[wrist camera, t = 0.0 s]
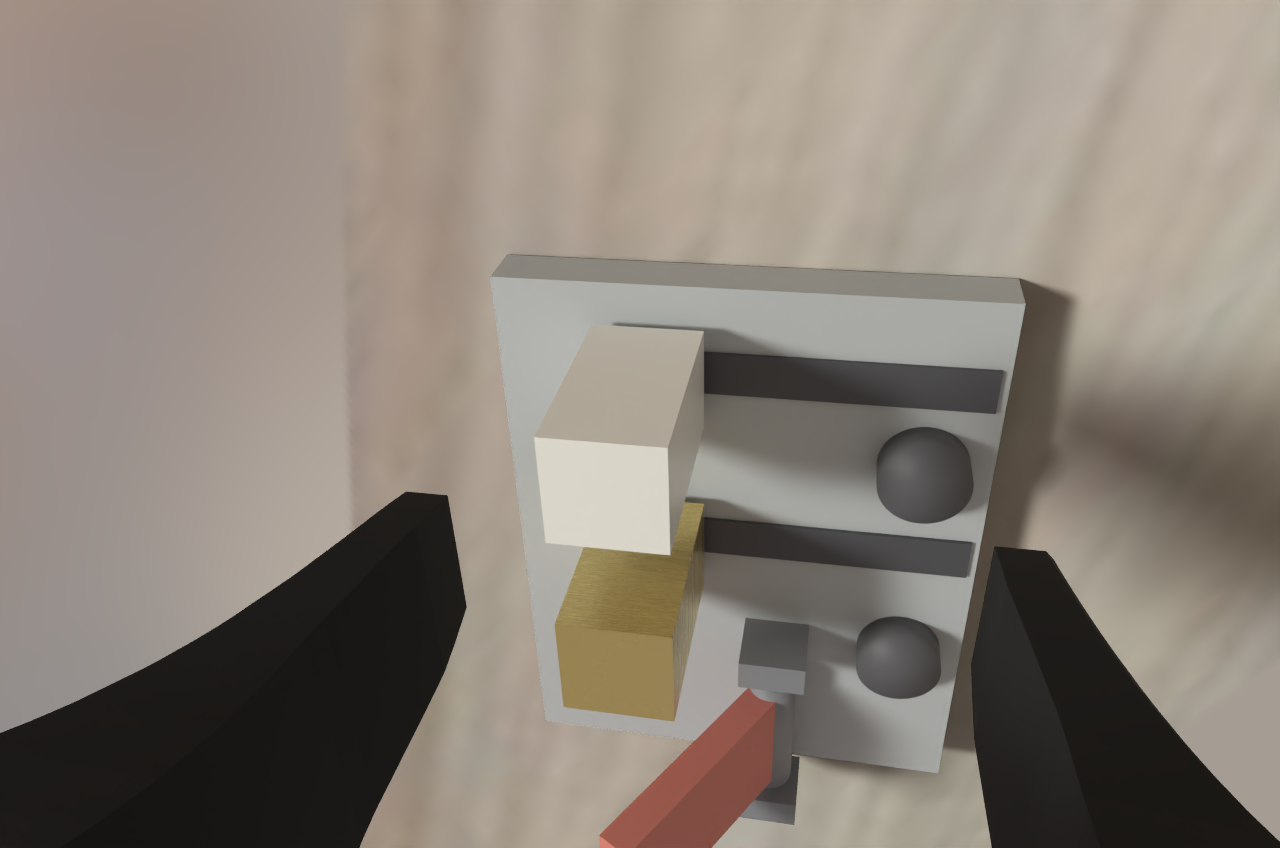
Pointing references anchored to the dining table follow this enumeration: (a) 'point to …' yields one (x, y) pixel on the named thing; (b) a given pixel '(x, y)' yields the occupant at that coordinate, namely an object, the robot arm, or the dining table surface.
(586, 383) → the white slider
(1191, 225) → the dining table surface
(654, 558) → the brass slider
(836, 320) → the panel
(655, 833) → the red paddle
